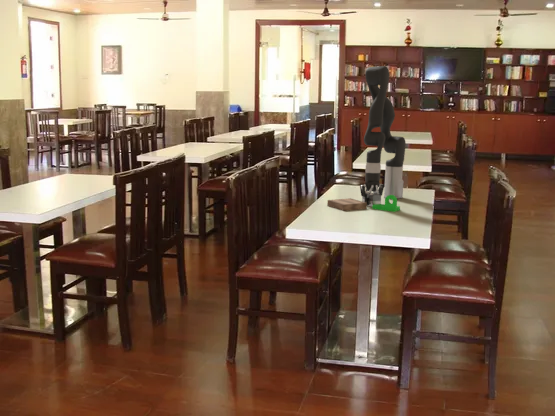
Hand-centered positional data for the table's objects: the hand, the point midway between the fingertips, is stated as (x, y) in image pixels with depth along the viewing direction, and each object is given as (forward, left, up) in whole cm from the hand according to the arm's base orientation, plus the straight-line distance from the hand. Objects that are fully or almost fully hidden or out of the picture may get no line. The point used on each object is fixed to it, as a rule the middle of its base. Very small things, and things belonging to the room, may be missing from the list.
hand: (371, 204), depth 321 cm
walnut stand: (+15, 0, 0) cm, 15 cm away
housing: (0, 0, 0) cm, 0 cm away
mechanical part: (0, +12, -1) cm, 12 cm away
